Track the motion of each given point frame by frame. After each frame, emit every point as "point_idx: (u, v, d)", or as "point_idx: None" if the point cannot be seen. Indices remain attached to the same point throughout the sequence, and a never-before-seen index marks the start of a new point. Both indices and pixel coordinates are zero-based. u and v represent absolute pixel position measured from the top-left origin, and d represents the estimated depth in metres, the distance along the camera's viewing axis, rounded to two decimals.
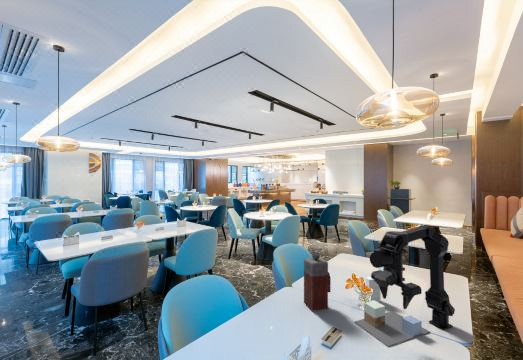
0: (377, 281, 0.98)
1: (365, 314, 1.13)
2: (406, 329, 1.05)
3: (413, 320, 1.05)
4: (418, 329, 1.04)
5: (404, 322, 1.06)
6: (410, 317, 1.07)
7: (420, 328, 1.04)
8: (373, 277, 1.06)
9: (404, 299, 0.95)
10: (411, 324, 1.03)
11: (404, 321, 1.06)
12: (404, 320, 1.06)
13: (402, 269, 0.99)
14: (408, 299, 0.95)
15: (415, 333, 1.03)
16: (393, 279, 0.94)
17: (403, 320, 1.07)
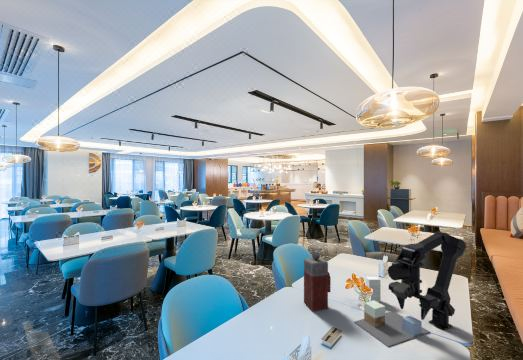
0: (396, 293, 1.04)
1: (365, 314, 1.13)
2: (406, 329, 1.05)
3: (413, 320, 1.05)
4: (418, 329, 1.04)
5: (404, 322, 1.06)
6: (410, 317, 1.07)
7: (420, 328, 1.04)
8: (391, 288, 1.12)
9: (422, 310, 1.00)
10: (411, 324, 1.03)
11: (404, 321, 1.06)
12: (404, 320, 1.06)
13: (419, 281, 1.04)
14: (426, 310, 1.01)
15: (415, 333, 1.03)
16: (412, 292, 1.00)
17: (403, 320, 1.07)
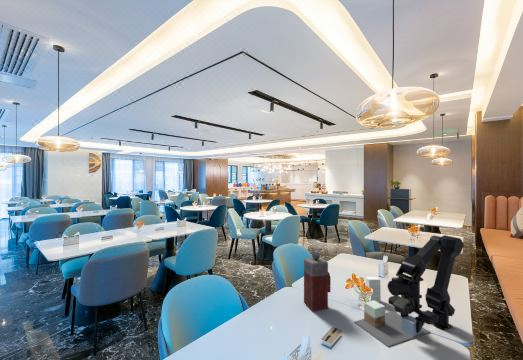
0: (396, 308, 1.04)
1: (365, 314, 1.13)
2: (406, 329, 1.05)
3: (413, 320, 1.05)
4: None
5: (404, 322, 1.06)
6: (410, 317, 1.07)
7: None
8: (390, 302, 1.12)
9: (417, 324, 1.02)
10: (411, 324, 1.03)
11: (404, 321, 1.06)
12: (404, 320, 1.06)
13: (419, 297, 1.04)
14: (421, 323, 1.02)
15: (415, 333, 1.03)
16: (411, 307, 1.00)
17: (403, 320, 1.07)
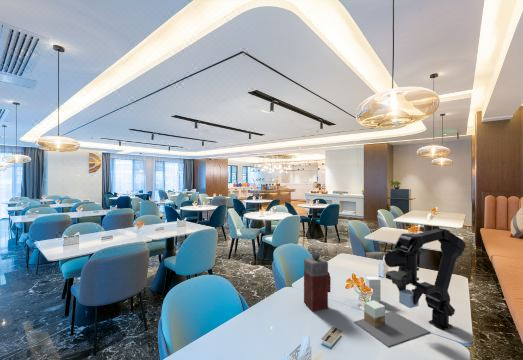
0: (393, 280, 1.04)
1: (365, 314, 1.13)
2: (403, 302, 1.06)
3: (410, 293, 1.05)
4: None
5: (401, 295, 1.06)
6: (407, 290, 1.08)
7: None
8: (388, 277, 1.12)
9: (414, 295, 1.02)
10: (408, 296, 1.04)
11: (401, 294, 1.06)
12: (401, 293, 1.06)
13: (416, 269, 1.04)
14: (418, 295, 1.03)
15: (413, 305, 1.04)
16: (409, 279, 1.00)
17: (400, 293, 1.07)
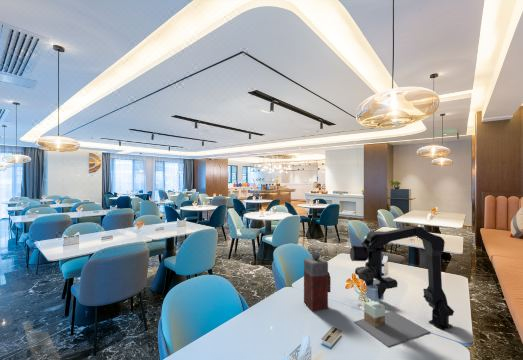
0: (359, 276, 1.10)
1: (365, 314, 1.13)
2: (369, 296, 1.12)
3: (375, 288, 1.11)
4: None
5: (368, 289, 1.13)
6: (374, 285, 1.14)
7: None
8: (357, 273, 1.18)
9: (379, 290, 1.09)
10: (373, 290, 1.10)
11: (368, 289, 1.13)
12: (368, 288, 1.13)
13: (381, 265, 1.10)
14: (382, 290, 1.09)
15: (377, 299, 1.10)
16: (372, 274, 1.06)
17: (367, 288, 1.13)
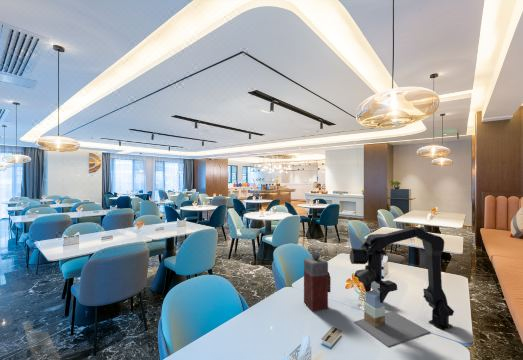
0: (359, 279, 1.10)
1: (365, 314, 1.13)
2: (369, 302, 1.12)
3: (375, 294, 1.11)
4: None
5: (367, 296, 1.13)
6: (373, 291, 1.14)
7: None
8: (356, 275, 1.18)
9: (380, 294, 1.08)
10: (373, 297, 1.10)
11: (367, 295, 1.13)
12: (367, 294, 1.13)
13: (381, 268, 1.11)
14: (384, 294, 1.08)
15: (377, 305, 1.10)
16: (372, 277, 1.06)
17: (367, 294, 1.13)
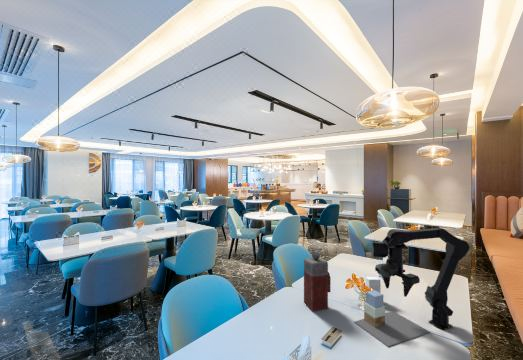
0: (381, 272, 1.13)
1: (365, 314, 1.13)
2: (369, 302, 1.12)
3: (375, 294, 1.11)
4: (380, 302, 1.10)
5: (367, 296, 1.13)
6: (373, 291, 1.14)
7: (382, 301, 1.11)
8: (377, 269, 1.21)
9: (404, 288, 1.09)
10: (373, 297, 1.10)
11: (367, 295, 1.13)
12: (367, 294, 1.13)
13: (402, 262, 1.13)
14: (408, 288, 1.10)
15: (377, 305, 1.10)
16: (395, 270, 1.09)
17: (367, 294, 1.13)
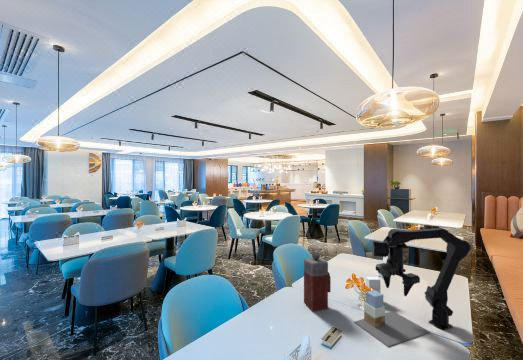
0: (381, 272, 1.13)
1: (365, 314, 1.13)
2: (369, 302, 1.12)
3: (375, 294, 1.11)
4: (380, 302, 1.10)
5: (367, 296, 1.13)
6: (373, 291, 1.14)
7: (382, 301, 1.11)
8: (377, 269, 1.21)
9: (405, 287, 1.09)
10: (373, 297, 1.10)
11: (367, 295, 1.13)
12: (367, 294, 1.13)
13: (403, 261, 1.13)
14: (408, 287, 1.10)
15: (377, 305, 1.10)
16: (395, 270, 1.09)
17: (367, 294, 1.13)
